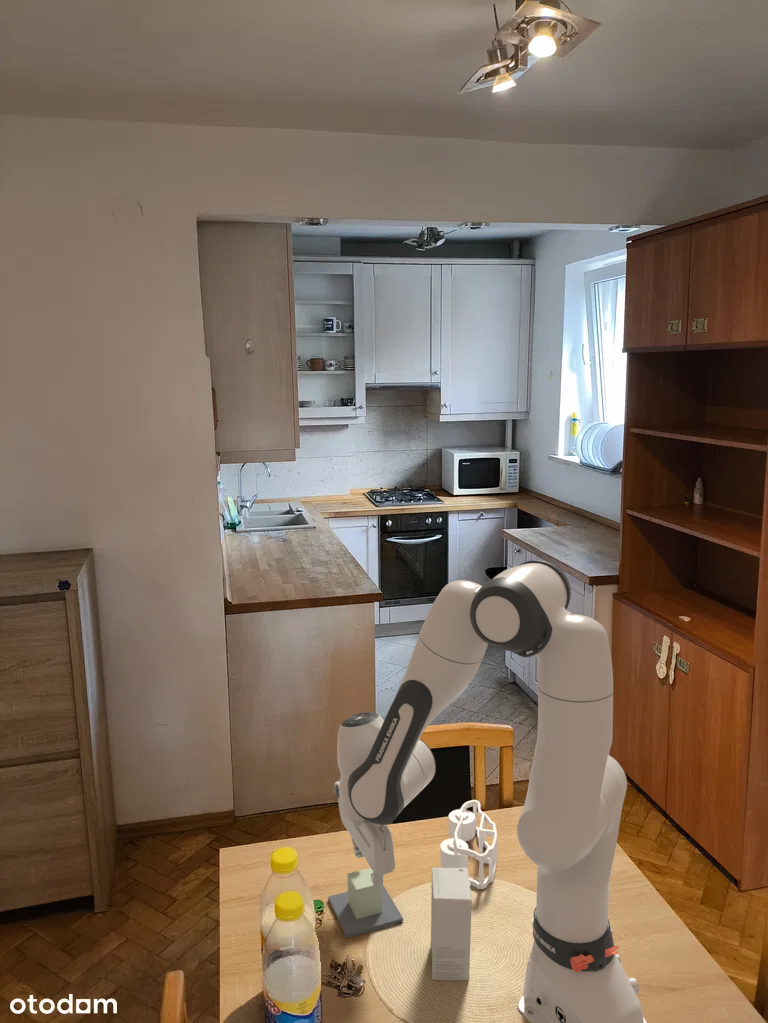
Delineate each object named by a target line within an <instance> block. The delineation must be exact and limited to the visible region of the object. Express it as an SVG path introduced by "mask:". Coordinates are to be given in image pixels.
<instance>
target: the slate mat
mask: <svg viewBox="0 0 768 1023" xmlns="http://www.w3.org/2000/svg"><path fill="white" fill-rule="evenodd" d="M327 898H328V903H329V905H330V907H331V909H332V911H333V913H334V915H335V917H336V920H337V921H338V923H339V925H340V928H341V930H342V932H343V934H344V936H345V938H346V939H348V938H352V937H355V936H356V937H357V936H359V935H363V934H366V933H369V932H374V931H376V930H380V929H384V928H387V927H391V926H394V925H397V924H396V923H398V924H400V923H399V922H402V921H403V922H404V917H403V915H402V914H401V912H400V910H399V909H398V907H397V905H396V904H395V902H394V900H393V898H392V897H391V895H390V894H389V892H388V891H387V888H386V887H385V885H384V883H383V884H382V912H381V913H378V914H374V915H371V916H367V917H363V918H360V919H356V917H355V915H354V913H353V911H352V909H351V907H350V905H349V903H348V890H347V891H343V892H339V893H336V894H332V895H329V896H328V897H327ZM403 922H402V923H403Z"/></svg>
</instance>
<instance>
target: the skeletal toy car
mask: <svg viewBox="0 0 768 1023" xmlns="http://www.w3.org/2000/svg"><path fill="white" fill-rule="evenodd" d="M471 807H472V811H471V810H468V808H471ZM477 816H479V818H480V824H479V827H478V826H477V825H478V824H477V822H478V821H477V820H478V819H477ZM486 824H487V825H488V826H489V827H490V828H491V829H487V828H486ZM496 827H497V825H496V823H495V822H494V821H492V819H491V818H490V816H488V815H487V814H486V813H485V812H483V811H482V809H481V802H480V801H479V800H476V799H472V800H468V801H466V802H464V803H463V804H462V806H461V807H460V808H459V809H458V808H457V809H454V810H452V811H451V812H449V814H448V836H449V837H450V838H447V839H444V840H442V842H441V843H440V845H439V846H440V852H439V853H440V856H439V858H440V859H439V860H440V868H467V869H468V868H469V857H470V858H473V859H475V860H476V861H478V881H477V880H476V879H473V878H470V877H469V881H470V883H471V885H472V886H471V885H470V886H471V887H473V886H474V888H475V887H476V888H477V890H478V889H483V890H485V889H487V887H488V885H489V884H491V883H493V881H494V879H495V875H496V870H497V869H496V868H497V863H498V830H497V828H496ZM476 834H477V835H476ZM475 835H476V836H477V842H478V852H477V851H476V850H474V849H471V848H469V844H468V843H467V841H471V840H473V839H474V838H475ZM486 837H492V844H490V845H489V843H488V842H487V841H486ZM484 849H486V850H485V852H484V851H483V850H484ZM484 864H488V875H487V876H486V878H485V879H484ZM476 888H475V889H476ZM484 888H485V889H484Z"/></svg>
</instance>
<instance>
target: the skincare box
mask: <svg viewBox="0 0 768 1023" xmlns="http://www.w3.org/2000/svg"><path fill="white" fill-rule="evenodd" d="M469 878H470V876H469V869H468V868H441V867H431V907H430V908H431V909H430V912H431V914H430V915H431V918H430V919H431V920H430V957H431V973H432V974H431V978H432V981H454V980H469V981H470V965H471V963H470V962H471V959H470V958H471V956H470V955H471V932H472V931H471V930H472V904H473V901H472V891H471V883H470V881H469Z"/></svg>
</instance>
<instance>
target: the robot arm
mask: <svg viewBox="0 0 768 1023" xmlns="http://www.w3.org/2000/svg"><path fill="white" fill-rule="evenodd" d="M571 596H572V590H571V584H570V581H569V579H568V577H567V575H566V573H565V572H564V571H563V570H562V569H561V568H560V567H558V566H557V565H556V564H554V563H552V562H549V561H546V560H541V559H540V560H539V559H538V560H534V559H533V560H528V561H524V562H522V563H520V564H517V566H514V567H509V568H507V569H504V570H503V571H502V572H500V573H498V574H497V575H495V576H494V577H493V578H492V579H490V580H488V581H486V582H485V583H484V584H482V585H481V584H479V583H476V582H474V581H471V580H466V579H465V580H462V579H461V580H459V579H457V580H454V581H453V580H452V581H451V582H449V583H447V584H446V585H445V586H444V587H443V588H441V591H440V592H439V593H438V595H437V597H436V598H435V600H434V602H433V603H432V605H431V606H430V609H429V611H428V613H427V615H426V617H425V620H424V621H423V623H422V624H423V625H422V627H421V629H420V632H419V634H418V637H417V639H416V642H415V646H414V648H413V651H412V654H411V657H410V660H409V662H408V664H407V667H406V670H405V673H404V676H403V677H402V680H401V681H400V685H399V687H398V689H397V692H396V694H395V697H394V699H393V701H392V702H391V705H390V707H389V709H388V711H387V714H386V715H385V718H384V719H383V717H382V716H381V715H380V714H378V713H376V712H372V711H365V712H359V713H356V714H352V715H351V716H349V717H347V718H346V719H345V720H343V721H342V722H341V723H340V725H339V727H338V732H337V741H336V745H337V746H336V749H337V750H336V751H337V752H336V753H337V754H336V757H337V766H338V769H339V772H340V778H339V780H337V781H335V782H334V793H335V794H336V796H337V803H338V810H339V816H340V819H341V823H342V825H343V826H344V827H345V829H346V830H347V832H348V834H349V836H350V839H351V842H352V846H353V854H354V856H355V857H356V859H361V858H364V860H365V861H366V862H367V864H368V865H369V868H371V869H372V870H373V873H372V874H371V881H372V883H373V885H374V886H375V887H377V886H380V885H382V884H383V885H384V876H385V875H387V874H391V873H393V872H394V870H395V869H396V868H395V867H396V860H395V851H394V843H393V842H394V841H393V836H392V832H391V830H390V828H389V827H388V825H389V824H392V823H393V822H394V821H395V820H396V818H397V817H398V816H400V814H401V812H402V811H403V810H404V808H406V806H407V805H409V804H410V803H411V802H412V801H413V800H414V799H415V798H416V797H417V796H418V795H419V794H420V793H421V792H422V791H423V790H424V789H425V787H427V785H429V784H430V782H431V781H432V780H433V779H434V777H435V775H436V771H437V765H436V764H437V763H436V757H435V756H434V753H433V751H432V750H431V748H430V747H429V745H428V744H427V743H426V742H425V741H423V740H422V739H421V737H422V736H423V733H424V732H425V730H426V729H427V728H428V727H429V725H430V724H431V723H432V722H433V721H434V720H435V719H436V717H438V715H440V714H441V713H442V712H443V711H444V710H445V709H446V708H447V707H448V706H449V705H451V704H452V703H453V702H454V701H455V700H456V699H457V698H458V697H459V696H461V695H462V693H463V692H465V690H466V689H467V688H468V686H469V685H470V683H471V682H472V680H473V679H474V677H475V675H476V674H477V672H478V671H479V668H480V666H481V663H482V662H483V659H484V656H485V653H486V651H487V648H488V645H489V646H491V647H493V648H496V649H498V650H501V651H507V652H512V653H513V654H516V655H517V656H519V657H522V658H531V657H533V656H535V658H536V661H537V734H536V735H537V736H536V743H535V749H534V755H533V760H532V764H531V765H532V766H531V770H530V774H529V781H528V787H527V791H526V792H527V793H526V796H525V800H524V804H523V808H522V811H521V812H520V813H521V814H520V816H519V819H518V821H517V826H516V835H517V836H516V837H517V840H518V842H519V845H520V848H521V849H522V851H523V853H524V854H525V856H527V858H529V860H531V862H532V863H534V864H536V865H537V870H536V900H535V901H536V905H535V908H534V910H533V917H532V922H531V923H532V936H533V939H534V940H533V944H532V947H531V950H530V954H529V956H528V958H527V963H526V971H525V979H524V987H523V994H522V995H521V998H520V999H519V1001H518V1004H517V1010H518V1009H519V1010H518V1011H519V1013H520V1012H521V1013H522V1014H523V1015H522V1014H521V1013H520V1014H521V1015H522V1016H524V1018H525V1019H526V1020H528V1022H529V1023H531V1022H532V1023H648V1022H647V1020H646V1018H645V1017H644V1012H643V1007H642V1004H641V1002H640V1000H639V997H638V994H640V987H639V983H638V981H637V979H636V978H635V977H633V976H632V977H628V975H627V974H626V972H625V969H624V968H623V965H622V959H621V957H620V955H619V954H618V953H619V951H618V949H619V948H620V947H619V945H615V943H614V938H613V929H612V927H611V924H610V919H609V902H610V901H609V897H610V896H609V894H610V881H611V880H610V879H611V875H612V874H611V873H612V869H613V868H612V867H613V862H614V858H615V854H616V848H617V844H618V843H617V842H618V837H619V831H620V830H619V829H620V826H621V825H620V824H621V817H622V811H623V805H624V802H625V797H626V793H627V789H628V779H627V775H626V773H625V771H624V769H623V766H621V764H620V763H619V761H617V760H616V759H615V758H614V757H612V756H611V755H609V753H610V751H611V748H612V744H613V740H614V738H613V737H614V736H613V735H614V734H613V732H614V731H613V729H614V673H613V672H614V671H613V660H612V654H611V648H610V642H609V638H608V637H609V636H608V633H607V631H606V629H605V627H604V626H603V625H602V624H601V623H600V622H599V621H598V620H596V619H594V618H592V617H590V616H587V615H583V614H573V613H572V612H570V611H568V607H569V604H570V602H571ZM529 652H530V653H529ZM529 1012H532V1013H531V1014H530V1013H529Z"/></svg>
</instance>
